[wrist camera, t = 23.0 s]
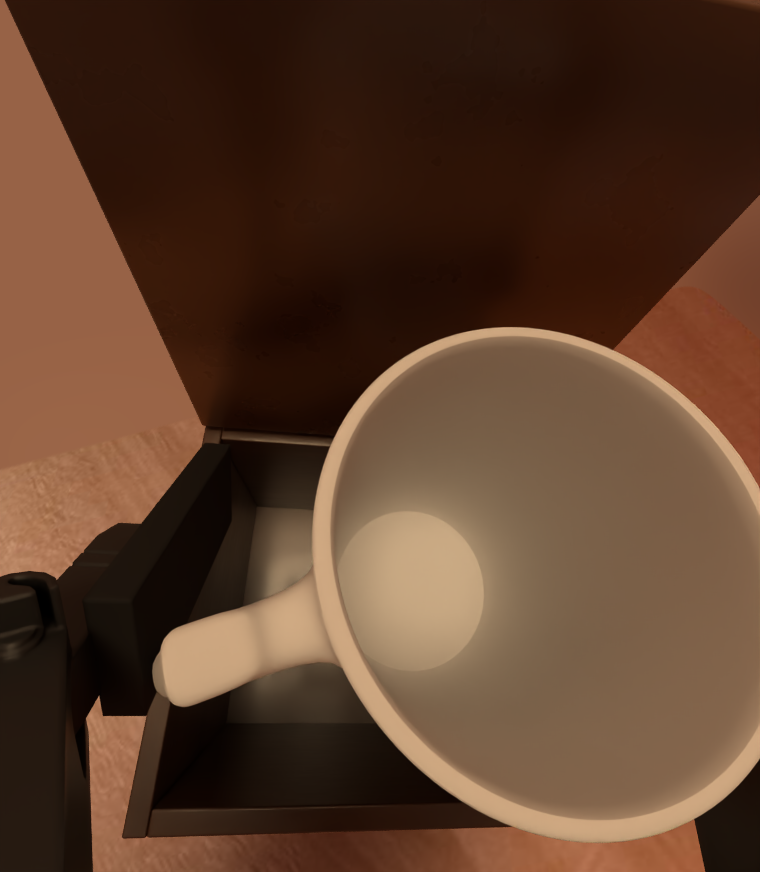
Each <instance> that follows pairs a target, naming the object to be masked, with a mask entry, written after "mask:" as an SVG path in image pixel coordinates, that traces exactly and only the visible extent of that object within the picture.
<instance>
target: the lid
mask: <svg viewBox="0 0 760 872" xmlns="http://www.w3.org/2000/svg"><path fill="white" fill-rule="evenodd" d="M5 1H6V4H7V6H8V8H9V10H10V12H11V14H12V17H13V19H14V21H15V23H16V25H17V27H18V29H19V32H20V34H21V36H22V38H23V40H24V42H25V45H26V47H27V49H28V51H29V53H30V55H31V57H32V60H33V62H34V64H35V66H36V68H37V70H38V73H39V75H40V77H41V79H42V81H43V83H44V85H45V88H46V90H47V92H48V94H49V96H50V98H51V100H52V103H53V105H54V107H55V109H56V111H57V113H58V116H59V118H60V120H61V122H62V124H63V126H64V128H65V130H66V133H67V135H68V137H69V139H70V141H71V143H72V146H73V148H74V150H75V152H76V154H77V156H78V159H79V161H80V163H81V165H82V167H83V169H84V171H85V174H86V176H87V178H88V180H89V182H90V184H91V186H92V189H93V191H94V193H95V195H96V197H97V199H98V202H99V204H100V206H101V208H102V210H103V212H104V215H105V217H106V219H107V221H108V223H109V225H110V227H111V229H112V232H113V234H114V236H115V238H116V240H117V243H118V245H119V247H120V249H121V251H122V253H123V255H124V258H125V260H126V262H127V264H128V266H129V268H130V270H131V272H132V275H133V277H134V279H135V281H136V283H137V286H138V288H139V290H140V292H141V294H142V296H143V298H144V301H145V303H146V305H147V307H148V309H149V311H150V313H151V316H152V318H153V320H154V322H155V324H156V326H157V329H158V331H159V333H160V335H161V337H162V339H163V341H164V344H165V346H166V348H167V350H168V352H169V354H170V357H171V359H172V361H173V363H174V365H175V367H176V370H177V372H178V374H179V376H180V378H181V380H182V382H183V384H184V387H185V389H186V391H187V393H188V395H189V397H190V400H191V402H192V404H193V406H194V408H195V410H196V412H197V415H198V417H199V419H200V421H201V423H202V425H203V426H216V427H229V428H242V429H256V430H269V431H283V432H296V433H309V434H323V435H336V433H337V431H338V429H339V427H340V426H341V424H342V422H343V420H344V419H345V417H346V416H347V414H348V412H349V411H350V409H351V408H352V407H353V405H354V404H355V402H356V401H357V400H358V399H359V397H360V396H361V395H362V394H363V393H364V392H365V390H366V389H367V388H368V387H369V386H370V385H371V384H372V383H373V382H374V381H375V380H376V379H377V378H378V377H379V376H380V375H381V374H383V373H384V372H385V371H386V370H387V369H389V368H390V367H391V366H392V365H394V364H395V363H396V362H398V361H399V360H401V359H402V358H404V357H405V356H407V355H409V354H410V353H412V352H414V351H416V350H418V349H420V348H421V347H424V346H426V345H428V344H430V343H432V342H435V341H437V340H440V339H443V338H446V337H449V336H452V335H456V334H459V333H463V332H468V331H473V330H479V329H487V328H500V327H521V328H534V329H542V330H549V331H554V332H559V333H564V334H568V335H572V336H575V337H579V338H582V339H585V340H588V341H591V342H594V343H597V344H599V345H602V346H604V347H607V348H609V349H611V350H613V349H614V348H615V347H616V346H617V345H618V344H619V343H620V342H621V341H622V340H623V339H624V338H625V336H626V335H627V334H628V333H629V332H630V331H631V330H632V329H633V328H634V327H635V326H636V325H637V324H638V323H639V322H640V321H641V320H642V319H643V317H644V316H645V315H646V314H647V313H648V312H649V311H650V310H651V309H652V308H653V307H654V306H655V305H656V304H657V303H658V302H659V301H660V299H661V298H662V297H663V296H664V295H665V294H666V293H667V292H668V291H669V290H670V289H671V288H672V287H673V286H674V285H675V284H676V283H677V282H678V280H679V279H680V278H681V277H682V276H683V275H684V274H685V273H686V272H687V271H688V270H689V269H690V268H691V267H692V266H693V265H694V264H695V263H696V261H697V260H698V259H699V258H700V257H701V256H702V255H703V254H704V253H705V252H706V251H707V250H708V249H709V248H710V247H711V246H712V244H714V242H715V241H716V240H717V239H718V238H719V237H720V236H721V235H722V234H723V233H724V232H725V231H726V230H727V229H728V228H729V227H730V226H731V224H732V223H733V222H734V221H735V220H736V219H737V218H738V217H739V216H740V215H741V214H742V213H743V212H744V211H745V210H746V208H748V206H749V205H750V204H751V203H752V202H753V201H754V200H755V199H756V198H757V197H758V196H759V195H760V0H5Z"/></svg>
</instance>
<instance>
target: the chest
mask: <svg viewBox="0 0 760 872" xmlns="http://www.w3.org/2000/svg"><path fill="white" fill-rule="evenodd" d="M334 437H335V435H323V434H309V433H296V432H283V431H269V430H256V429H242V428H229V427H216V426H206V428H205V433H204V438H203V443H202V446H203V444H204V443H216V444H230V445H231V499H232V522H231V524H230V526H229V529H228V531H227V533H226V535H225V538H224V540H223V542H222V544H221V547H220V549H219V551H218V554H217V556H216V558H215V560H214V563H213V565H212V567H211V569H210V572H209V574H208V576H207V579H206V581H205V583H204V585H203V588H202V590H201V592H200V595H199V597H198V599H197V601H196V604H195V606H194V608H193V610H192V613H191V615H190V617H189V620H188V622H187V624H188V623H191V622H194V621H197V620H200V619H203V618H206V617H209V616H212V615H215V614H218V613H222V612H226V611H230V610H234V609H238V608H241V607H244V606H247V605H250V604H252V603H255V602H258V601H260V600H263V599H265V598H268V597H270V596H272V595H274V594H276V593H278V592H281V591H283V590H285V589H286V588H288V587H290V586H291V585H293V584H295V583H297V582H298V581H299V580H300V579H301V578H303V577H304V576H305V575H306V574H307V573H308V572H309V571H310V569H311V567H312V565H313V559H312V525H313V513H314V505H315V498H316V493H317V488H318V483H319V479H320V475H321V471H322V468H323V465H324V462H325V459H326V456H327V454H328V451H329V448H330V446H331V444H332V441H333V439H334ZM491 827H512V826H510V825H507V824H505V823H502V822H500V821H498V820H496V819H493V818H491V817H489V816H487V815H485V814H483V813H481V812H479V811H477V810H476V809H474V808H472V807H470V806H469V805H467V804H465V803H464V802H462V801H460V800H459V799H457V798H456V797H454V796H453V795H451V794H450V793H448V792H447V791H446V790H444V789H443V788H442V787H440V786H439V785H438V784H436V783H435V782H434V781H432V780H431V779H430V778H429V777H428V776H426V775H425V774H424V773H423V772H422V771H421V770H419V769H418V768H417V767H416V766H415V765H414V764H413V763H412V762H411V761H410V760H409V759H408V758H407V757H406V756H405V755H404V754H403V753H402V752H401V751H400V750H399V749H398V748H397V747H396V746H395V745H394V744H393V742H392V741H391V740H390V739H389V738H388V737H387V736H386V734H385V733H384V732H383V731H382V729H381V728H380V727H379V726H378V724H377V723H376V722H375V721H374V719H373V718H372V716H371V715H370V714H369V712H368V711H367V709H366V708H365V706H364V705H363V703H362V702H361V700H360V699H359V697H358V696H357V694H356V692H355V691H354V689H353V687H352V685H351V684H350V682H349V680H348V678H347V676H346V674H345V673H344V671H343V669H342V668H341V667H339V666H337V665H335V664H333V663H321V662H318V663H311V664H304V665H300V666H296V667H292V668H288V669H284V670H281V671H278V672H275V673H272V674H269V675H266V676H263V677H261V678H258V679H255V680H253V681H250V682H248V683H246V684H244V685H241V686H239V687H237V688H235V689H233V690H230V691H228V692H226V693H223V694H221V695H219V696H216V697H213V698H211V699H208V700H206V701H203V702H200V703H198V704H195V705H192V706H188V707H180V706H176V705H174V704H173V703H172V702H171V701H170V700H169V699H168V697H164V696H162V695H161V694H160V693H159V692H156V695H155V697H154V699H153V702H152V704H151V706H150V708H149V711H148V713H147V717H146V722H145V727H144V731H143V736H142V741H141V746H140V751H139V756H138V761H137V766H136V771H135V776H134V780H133V785H132V790H131V795H130V800H129V805H128V810H127V815H126V820H125V824H124V829H123V834H122V838H124V839H126V838H145V837H146V836H147V837H149V838H152V837H186V836H220V835H254V834H288V833H321V832H355V831H389V830H423V829H457V828H491Z"/></svg>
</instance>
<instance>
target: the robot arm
mask: <svg viewBox="0 0 760 872" xmlns="http://www.w3.org/2000/svg"><path fill="white" fill-rule="evenodd" d="M231 522H232V499H231V445H230V444H216V443H204V444H203V446H202V447H201V448H200V450H199V451H198V452H197V453H196V455H195V456H194V457H193V458H192V460H191V461H190V462H189V464H188V465H187V466H186V467H185V469H184V470H183V471H182V472H181V474H180V475H179V476H178V478H177V479H176V480H175V481H174V483H173V484H172V485H171V487H170V488H169V489H168V490H167V492H166V493H165V494H164V495H163V497H162V498H161V499H160V501H159V502H158V503H157V504H156V506H155V507H154V508H153V510H152V511H151V512H150V513H149V515H148V516H147V517H146V518H145V520H144V521H143V522H142V524H131V523H118V524H116V525H114V526H113V527H111V528H109V529H108V530H106V531H104V532H102V533H101V534H99V535H98V536H97V537H96V538H95V539H94V540H93V541H92V542H91V543H90V544H89V546H88V547H87V548H86V549H85V550H84V553H81V554H80V555H79V557H78V558H77V559H76V560H75V561H74V562H73V565H72V566H69V568H68V569H67V570H66V571H65V572H64V573H63V574H62V575H61V576H60V577H59V578H58V580H56V578H55V577H53V576H51V575H49V574H47V573H44V572H33V571H27V572H19V573H12V574H8V575H4V576H1V577H0V872H93V861H92V829H91V797H90V766H89V734H88V727H87V722H86V717H87V715H88V714H89V712H90V710H91V708H92V707H93V705H94V703H95V701H96V700H97V698H98V696H100V702H101V707H102V713H103V716H146V715H147V713H148V711H149V708H150V706H151V704H152V702H153V699H154V697H155V695H156V692H157V690H156V688H155V686H154V682H153V674H152V669H153V663H154V661H155V658H156V656H157V655H158V653H159V652H160V650H161V645H162V642H163V640H164V638H165V637H166V636H167V635H168V634H169V633H170V632H171V631H172V630H174V629H175V628H177V627H180V626H182V625H185V624H187V622H188V620H189V617H190V615H191V613H192V610H193V608H194V606H195V604H196V601H197V599H198V597H199V595H200V592H201V590H202V588H203V585H204V583H205V581H206V579H207V576H208V574H209V572H210V569H211V567H212V565H213V563H214V560H215V558H216V556H217V554H218V551H219V549H220V547H221V544H222V542H223V540H224V538H225V535H226V533H227V531H228V529H229V526H230V524H231ZM694 820H695V825H696V829H697V834H698V839H699V844H700V848H701V853H702V858H703V862H704V867H705V872H760V759H759V760H758V762H757V763H756V765H755V766H754V767H753V769H752V770H751V771H750V773H749V774H748V775H747V776H746V777H745V778H744V780H743V781H742V782H741V783H740V784H739V785H738V786H737V787H736V788H735V789H734V790H733V791H732V792H731V793H730V794H729V795H728V796H726V797H725V798H724V799H723V800H722V801H721V802H719V803H718V804H717V805H715V806H714V807H713V808H711V809H710V810H708V811H707V812H705V813H704V814H702V815H701V816H699V817H697V818H695V819H694Z"/></svg>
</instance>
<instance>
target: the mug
mask: <svg viewBox="0 0 760 872" xmlns="http://www.w3.org/2000/svg"><path fill="white" fill-rule="evenodd" d="M312 559H313V565H312V567H311V569H310V571H309V572H308V573H307V574H306V575H305V576H304V577H303V578H301V579H300V580H299V581H298V582H297V583H295V584H293V585H291V586H290V587H288V588H286V589H285V590H283V591H281V592H278V593H276V594H274V595H272V596H270V597H268V598H265V599H263V600H260V601H258V602H255V603H252V604H250V605H247V606H244V607H241V608H238V609H234V610H230V611H226V612H222V613H218V614H215V615H212V616H209V617H206V618H203V619H200V620H197V621H194V622H191V623H188V624H185V625H182V626H180V627H177V628H175V629H174V630H172V631H171V632H170V633H169V634H168V635H167V636H166V637H165V638H164V640H163V642H162V645H161V650H160V652H159V653H158V655H157V656H156V658H155V661H154V663H153V669H152V674H153V682H154V686H155V688H156V690H157V692H159V693H160V694H161V695H162V696H164V697H168V699H169V700H170V701H171V702H172V703H173V704H174V705H176V706H180V707H188V706H192V705H195V704H198V703H200V702H203V701H206V700H208V699H211V698H213V697H216V696H219V695H221V694H223V693H226V692H228V691H230V690H233V689H235V688H237V687H239V686H241V685H244V684H246V683H248V682H250V681H253V680H255V679H258V678H261V677H263V676H266V675H269V674H272V673H275V672H278V671H281V670H284V669H288V668H292V667H296V666H300V665H304V664H311V663H318V662H321V663H333V664H335V665H337V666H339V667H341V668H342V669H343V671H344V673H345V674H346V676H347V678H348V680H349V682H350V684H351V685H352V687H353V689H354V691H355V692H356V694H357V696H358V697H359V699H360V700H361V702H362V703H363V705H364V706H365V708H366V709H367V711H368V712H369V714H370V715H371V716H372V718H373V719H374V721H375V722H376V723H377V724H378V726H379V727H380V728H381V729H382V731H383V732H384V733H385V734H386V736H387V737H388V738H389V739H390V740H391V741H392V742H393V744H394V745H395V746H396V747H397V748H398V749H399V750H400V751H401V752H402V753H403V754H404V755H405V756H406V757H407V758H408V759H409V760H410V761H411V762H412V763H413V764H414V765H415V766H416V767H417V768H418V769H419V770H421V771H422V772H423V773H424V774H425V775H426V776H428V777H429V778H430V779H431V780H432V781H434V782H435V783H436V784H438V785H439V786H440V787H442V788H443V789H444V790H446V791H447V792H448V793H450V794H451V795H453V796H454V797H456V798H457V799H459V800H460V801H462V802H464V803H465V804H467V805H469V806H470V807H472V808H474V809H476V810H477V811H479V812H481V813H483V814H485V815H487V816H489V817H491V818H493V819H496V820H498V821H500V822H502V823H505V824H507V825H510V826H512V827H515V828H518V829H520V830H524V831H527V832H530V833H533V834H537V835H541V836H545V837H549V838H554V839H560V840H565V841H574V842H586V843H612V842H624V841H630V840H637V839H642V838H646V837H650V836H654V835H657V834H660V833H664V832H667V831H669V830H672V829H674V828H677V827H679V826H681V825H683V824H686V823H688V822H690V821H692V820H693V819H695V818H697V817H699V816H701V815H702V814H704V813H705V812H707V811H708V810H710V809H711V808H713V807H714V806H715V805H717V804H718V803H719V802H721V801H722V800H723V799H724V798H725V797H726V796H728V795H729V794H730V793H731V792H732V791H733V790H734V789H735V788H736V787H737V786H738V785H739V784H740V783H741V782H742V781H743V780H744V778H745V777H746V776H747V775H748V774H749V773H750V771H751V770H752V769H753V767H754V766H755V765H756V763H757V762H758V760H759V759H760V488H759V487H758V485H757V483H756V481H755V479H754V478H753V476H752V474H751V473H750V471H749V469H748V468H747V466H746V465H745V463H744V461H743V460H742V459H741V457H740V456H739V454H738V453H737V452H736V450H735V449H734V448H733V446H732V445H731V444H730V442H729V441H728V440H727V439H726V438H725V436H724V435H723V434H722V433H721V432H720V431H719V429H718V428H717V427H716V426H715V425H714V424H713V423H712V422H711V421H710V420H709V419H708V418H707V417H706V416H705V415H704V414H703V412H702V411H700V410H699V409H698V408H697V407H696V406H695V405H694V404H693V403H692V402H691V401H690V400H689V399H687V398H686V397H685V396H684V395H683V394H681V393H680V392H679V391H678V390H677V389H675V388H674V387H673V386H671V385H670V384H669V383H667V382H666V381H665V380H663V379H662V378H661V377H659V376H658V375H656V374H655V373H653V372H652V371H650V370H648V369H647V368H645V367H644V366H642V365H640V364H639V363H637V362H635V361H633V360H631V359H630V358H628V357H626V356H624V355H622V354H620V353H618V352H616V351H613V350H611V349H609V348H607V347H604V346H602V345H599V344H597V343H594V342H591V341H588V340H585V339H582V338H579V337H575V336H572V335H568V334H564V333H559V332H554V331H549V330H542V329H534V328H521V327H500V328H487V329H479V330H473V331H468V332H463V333H459V334H456V335H452V336H449V337H446V338H443V339H440V340H437V341H435V342H432V343H430V344H428V345H426V346H424V347H421V348H420V349H418V350H416V351H414V352H412V353H410V354H409V355H407V356H405V357H404V358H402V359H401V360H399V361H398V362H396V363H395V364H394V365H392V366H391V367H390V368H389V369H387V370H386V371H385V372H384V373H383V374H381V375H380V376H379V377H378V378H377V379H376V380H375V381H374V382H373V383H372V384H371V385H370V386H369V387H368V388H367V389H366V390H365V392H364V393H363V394H362V395H361V396H360V397H359V399H358V400H357V401H356V402H355V404H354V405H353V407H352V408H351V409H350V411H349V412H348V414H347V416H346V417H345V419H344V420H343V422H342V424H341V426H340V427H339V429H338V431H337V433H336V435H335V437H334V439H333V441H332V444H331V446H330V448H329V451H328V454H327V456H326V459H325V462H324V465H323V468H322V471H321V475H320V479H319V483H318V488H317V493H316V498H315V505H314V513H313V525H312Z"/></svg>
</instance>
